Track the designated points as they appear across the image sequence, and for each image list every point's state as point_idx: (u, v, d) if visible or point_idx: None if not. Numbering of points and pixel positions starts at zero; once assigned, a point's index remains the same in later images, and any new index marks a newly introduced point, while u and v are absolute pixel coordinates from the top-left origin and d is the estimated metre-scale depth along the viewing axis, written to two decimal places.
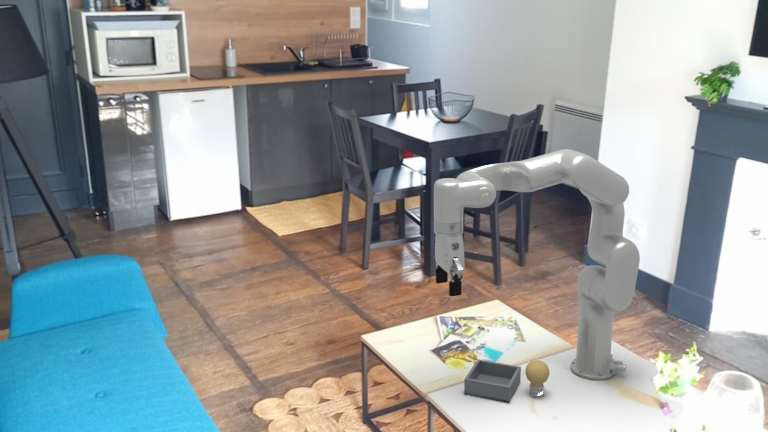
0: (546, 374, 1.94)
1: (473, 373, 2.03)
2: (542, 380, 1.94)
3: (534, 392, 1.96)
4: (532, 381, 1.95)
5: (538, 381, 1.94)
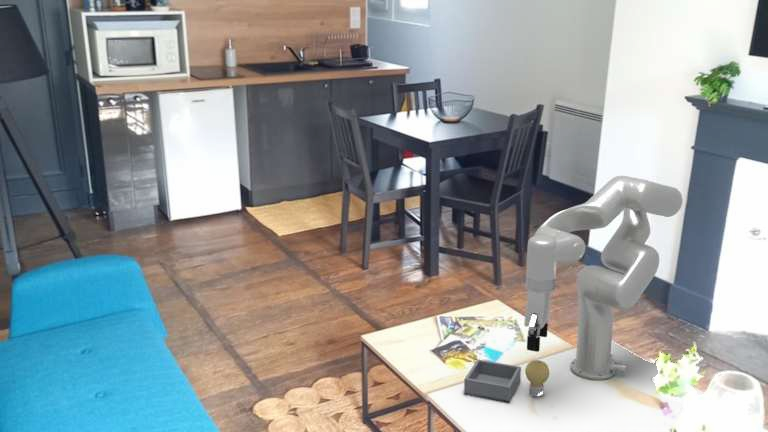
0: (546, 374, 1.94)
1: (473, 373, 2.03)
2: (542, 380, 1.94)
3: (534, 392, 1.96)
4: (532, 381, 1.95)
5: (538, 381, 1.94)
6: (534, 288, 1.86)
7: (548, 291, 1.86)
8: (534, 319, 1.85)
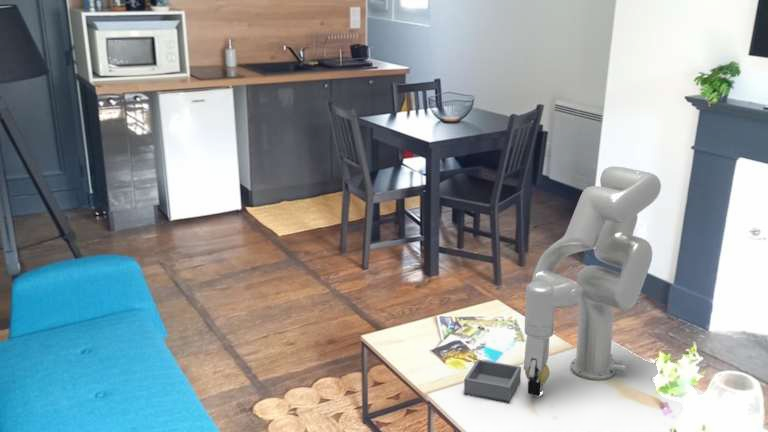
0: (546, 374, 1.94)
1: (473, 373, 2.03)
2: (542, 380, 1.94)
3: None
4: None
5: None
6: (533, 334, 1.90)
7: (546, 336, 1.90)
8: (533, 367, 1.89)
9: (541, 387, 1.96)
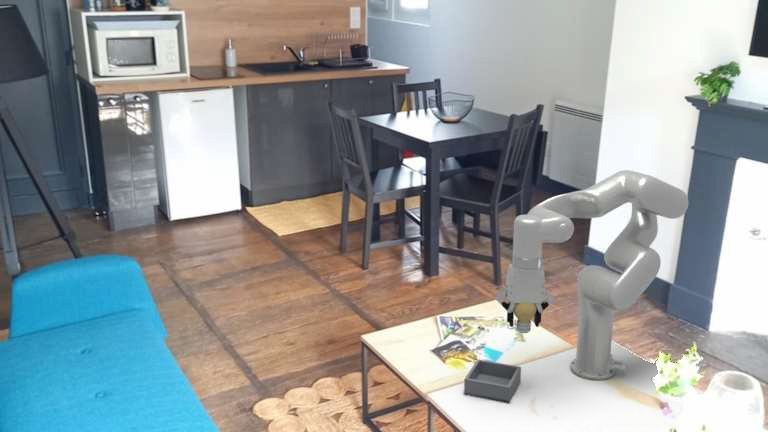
0: (520, 309, 1.91)
1: (473, 373, 2.03)
2: (516, 314, 1.92)
3: None
4: None
5: (514, 313, 1.94)
6: (512, 262, 1.91)
7: (518, 268, 1.88)
8: (502, 292, 1.93)
9: (521, 323, 1.94)
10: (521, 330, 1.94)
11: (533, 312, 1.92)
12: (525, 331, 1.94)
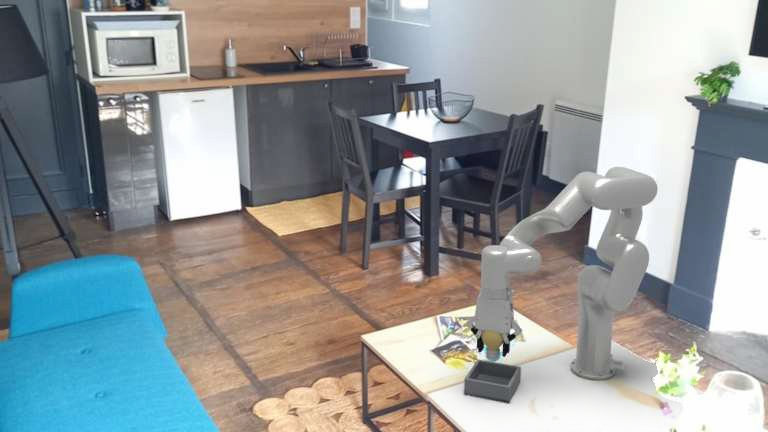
0: (485, 337, 1.96)
1: (473, 373, 2.03)
2: (483, 340, 1.97)
3: None
4: None
5: None
6: None
7: (482, 297, 1.93)
8: (472, 317, 1.98)
9: (488, 350, 1.98)
10: (488, 357, 1.98)
11: (498, 341, 1.95)
12: (491, 359, 1.97)
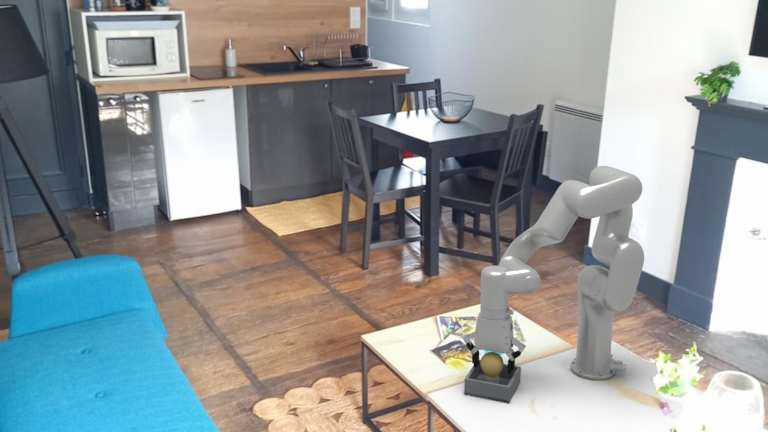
0: (483, 365, 1.97)
1: (473, 373, 2.03)
2: (482, 369, 1.99)
3: None
4: None
5: None
6: None
7: (482, 317, 1.95)
8: (470, 334, 2.00)
9: (487, 378, 2.00)
10: None
11: (496, 369, 1.97)
12: None
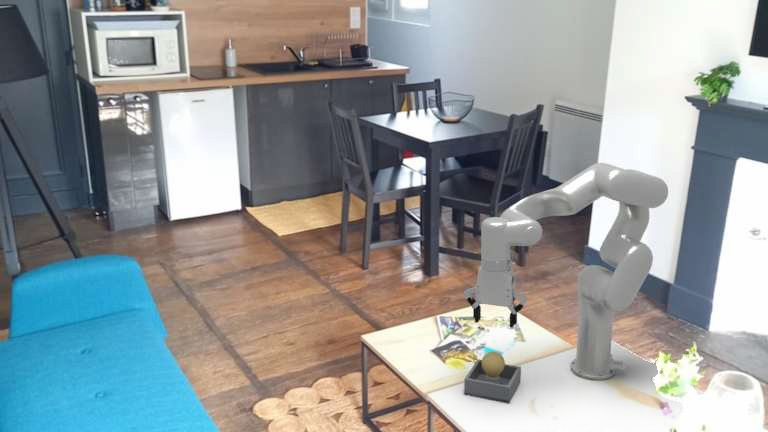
0: (485, 365, 1.98)
1: (473, 373, 2.03)
2: (483, 368, 1.99)
3: None
4: None
5: None
6: None
7: (483, 269, 1.91)
8: (471, 288, 1.96)
9: (488, 377, 2.00)
10: None
11: (497, 369, 1.97)
12: None
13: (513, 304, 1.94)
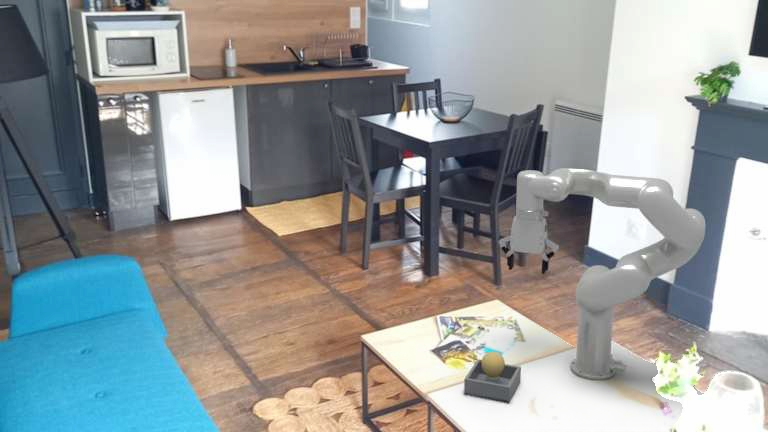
0: (485, 365, 1.98)
1: (473, 373, 2.03)
2: None
3: None
4: None
5: (482, 367, 2.00)
6: None
7: (518, 219, 2.05)
8: (506, 237, 2.11)
9: (488, 377, 2.00)
10: None
11: (497, 369, 1.97)
12: None
13: (545, 252, 2.08)
